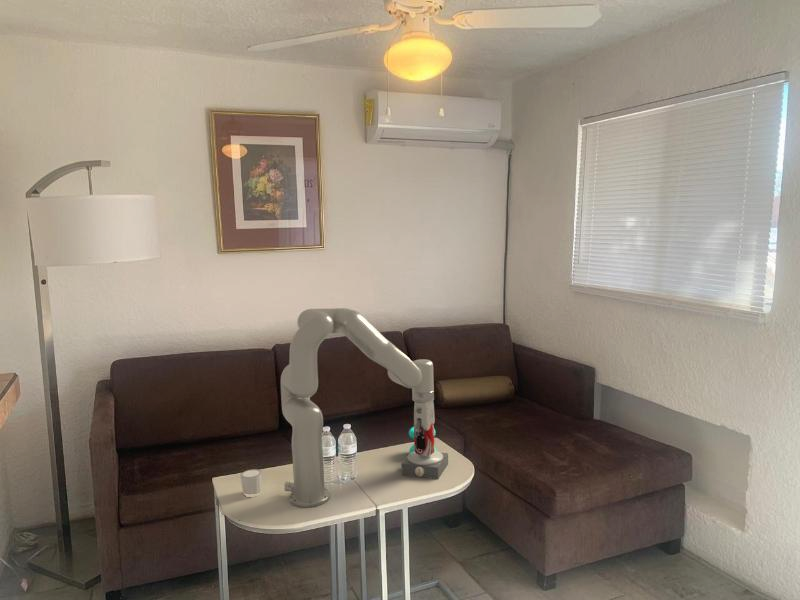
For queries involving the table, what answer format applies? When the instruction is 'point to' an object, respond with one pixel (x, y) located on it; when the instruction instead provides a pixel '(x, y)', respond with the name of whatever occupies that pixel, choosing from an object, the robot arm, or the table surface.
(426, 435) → the soda can
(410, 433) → the donuts
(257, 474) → the shot glass
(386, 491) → the table surface
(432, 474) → the kitchen scale
